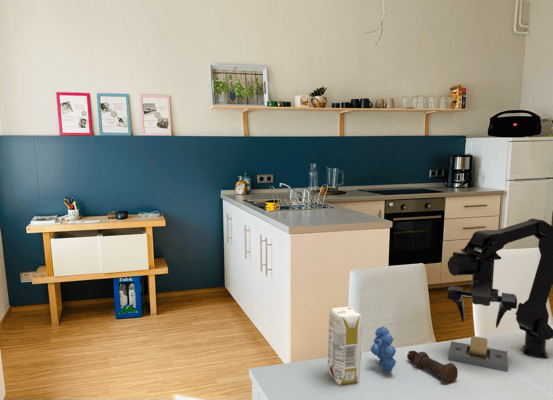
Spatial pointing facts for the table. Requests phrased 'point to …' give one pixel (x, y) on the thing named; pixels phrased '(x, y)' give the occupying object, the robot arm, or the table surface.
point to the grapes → (384, 349)
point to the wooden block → (478, 347)
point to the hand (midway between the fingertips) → (479, 324)
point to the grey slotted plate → (495, 362)
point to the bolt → (434, 366)
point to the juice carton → (344, 345)
